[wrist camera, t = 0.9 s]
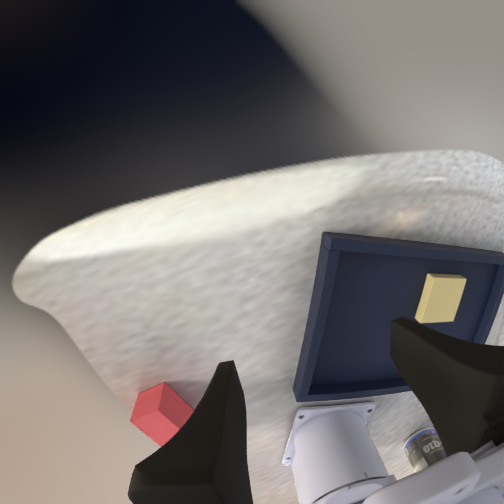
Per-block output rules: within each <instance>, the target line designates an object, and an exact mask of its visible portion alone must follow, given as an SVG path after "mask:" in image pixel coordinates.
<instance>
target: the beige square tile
mask: <svg viewBox="0 0 504 504" xmlns="http://www.w3.org/2000/svg"><path fill="white" fill-rule="evenodd" d="M466 280H467V279H466V278H465V277H463V276H461V275H452V274H433V273H428V274H427V277H426V281H425V285H424V288H423V292H422V296H421V299H420V302H419V306H418V309H417V312H416V315H415V319H416V320H417V321H418V322H419V323H435V322H450V321H453V320H454V318H455V315H456V312H457V309H458V306H459V303H460V300H461V297H462V293H463V290H464V287H465V283H466Z"/></svg>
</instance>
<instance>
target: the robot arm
mask: <svg viewBox="0 0 504 504" xmlns="http://www.w3.org/2000/svg"><path fill="white" fill-rule="evenodd" d="M390 357H391V359H392V361H393V363H394V365H395V366H396V368H397V370H398V372H399V373H400V375H401V376H402V377H403V379H404V380H405V382H406V383H407V384H408V386H409V387H410V388H411V390H412V391H413V393H414V394H415V395H416V397H417V398H418V399H419V401H420V402H421V404H422V405H423V407H424V408H425V410H426V412H427V414H428V416H429V418H430V420H431V421H432V423H433V425H434V428H435V430H436V432H437V434H438V436H439V438H440V441H441V443H442V446H443V448H444V451H445V453H446V456H447V458H445V459H443V460H441V461H439V462H437V463H435V464H433V465H431V466H429V467H427V468H425V469H423V470H420V471H418V472H416V473H414V474H412V475H409V476H407V477H405V478H402V479H400V480H396V478H395V476H394V475H391V476H389V474H388V472H387V470H386V468H385V466H384V464H383V461H382V459H381V457H380V455H379V453H378V451H377V449H376V446H375V444H374V442H373V440H372V438H371V436H370V434H369V432H368V429H367V427H366V426H367V423H368V421H369V419H370V417H371V415H372V413H373V411H374V409H375V406H376V404H375V403H374V402H373V401H371V402H363V403H354V404H344V405H332V406H318V407H301V408H299V409H298V410H297V411H296V415H295V418H294V422H293V425H292V429H291V432H290V436H289V439H288V442H287V446H286V449H285V452H284V456H283V459H282V465H291V467H292V471H293V476H294V481H295V486H296V490H297V495H298V500H299V504H504V346H493V345H485V344H479V343H474V342H470V341H466V340H462V339H458V338H455V337H452V336H449V335H446V334H444V333H441V332H439V331H436V330H434V329H431V328H429V327H426V326H424V325H422V324H420V323H417V322H415V321H413V320H410V319H408V318H405V317H400V318H397V319H394V320H391V341H390ZM301 415H302V416H301ZM128 497H129V499H130V500H131V501H132V503H133V504H253V500H252V493H251V487H250V480H249V472H248V464H247V422H246V406H245V398H244V392H243V389H242V386H241V383H240V380H239V377H238V373H237V370H236V367H235V364H234V360H232V361H226V362H221V363H219V364H218V366H217V369H216V371H215V373H214V376H213V378H212V380H211V382H210V384H209V386H208V388H207V390H206V392H205V394H204V396H203V397H202V399H201V401H200V402H199V404H198V405H197V407H196V409H195V410H194V412H193V413H192V415H191V416H190V417H189V419H188V420H187V421H186V422H185V424H184V425H183V426H182V427H181V428H180V429H179V431H178V432H177V433H176V434H175V435H174V436H173V437H172V438H171V439H170V440H169V441H168V442H167V443H165V444H164V445H163V446H162V447H161V448H159V449H158V450H157V451H156V452H154V453H153V454H152V455H150V456H149V457H147V458H146V459H144V460H143V461H141V462H140V463H139V464H137V465H136V466H135V469H134V471H133V474H132V477H131V482H130V486H129V491H128Z"/></svg>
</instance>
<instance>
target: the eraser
mask: <svg viewBox="0 0 504 504" xmlns="http://www.w3.org/2000/svg"><path fill="white" fill-rule="evenodd" d="M193 412H194V410H193V409H192V408H191V407H190V406H189V405H188V404H187V403H186V402H185V401H184V400H183V399H182V398H181V397H180V396H179V395H178V394H177V393H176V392H175V391H174V390H173V389H172V388H171V387H170V386H169V385H168V384H167V383H166V382H163V383H161V384H159V385H157V386H155V387H153V388H150V389H148V390H146V391H144V392H142V393H139V394H138V397H137V400H136V403H135V407H134V410H133V413H132V416H131V420H130V421H131V422H132V423H133V424H134V425H135V426H136V427H137V428H139V429H140V430H141V431H142V432H144V433H145V434H146V435H147V436H148V437H150V438H151V439H152V440H153V441H155V442H156V443H157V444H159V445H160V446H161V447H162V446H163V445H164V444H165V443H167V442H168V441H169V440H170V439H171V438H172V437H173V436H174V435H175V434H176V433H177V432H178V431H179V429H180V428H181V427H182V426H183V425H184V424H185V422H186V421H187V420H188V419H189V417H190V416H191V415H192V413H193Z"/></svg>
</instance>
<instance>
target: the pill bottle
mask: <svg viewBox="0 0 504 504" xmlns="http://www.w3.org/2000/svg"><path fill="white" fill-rule="evenodd" d="M403 450H404V452H405V454H406V455H407V457H408V459H409V461H410V463H411V465H412V467H413V469H414V471H415V473H416V472H418V471H420V470H423V469H425V468H427V467H429V466H431V465H433V464H435V463H437V462H439V461H441V460H443V459H445V458H447V456H446V453H445V451H444V448H443V446H442V443H441V441H440V438H439V436H438V434H437V433H436V431H435V430H434V429H433V428H432V427H427V428H423V429H421V430H419V431H417V432H415V433H414V434H412V435H411V436H410V437H409V438H408V439H407V440H406V442H405V443H404V445H403Z"/></svg>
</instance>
